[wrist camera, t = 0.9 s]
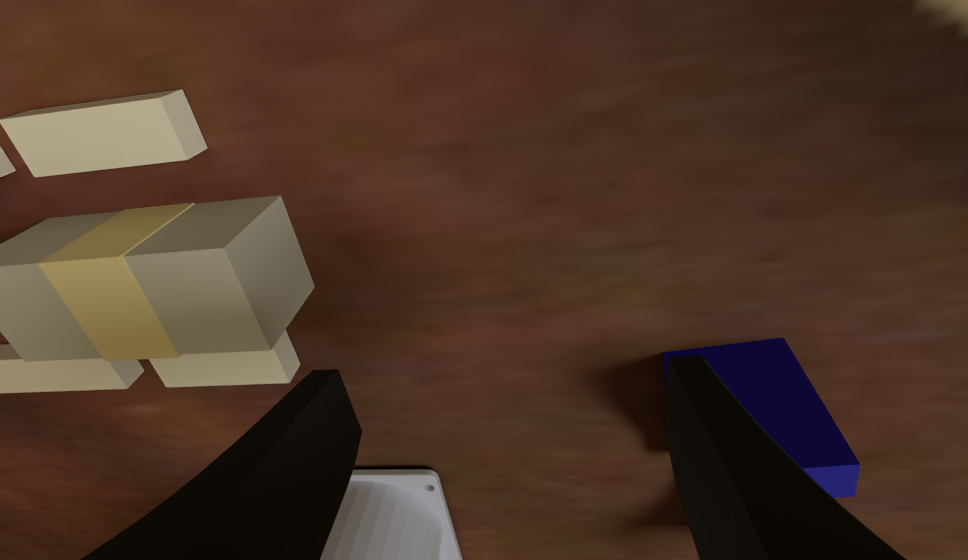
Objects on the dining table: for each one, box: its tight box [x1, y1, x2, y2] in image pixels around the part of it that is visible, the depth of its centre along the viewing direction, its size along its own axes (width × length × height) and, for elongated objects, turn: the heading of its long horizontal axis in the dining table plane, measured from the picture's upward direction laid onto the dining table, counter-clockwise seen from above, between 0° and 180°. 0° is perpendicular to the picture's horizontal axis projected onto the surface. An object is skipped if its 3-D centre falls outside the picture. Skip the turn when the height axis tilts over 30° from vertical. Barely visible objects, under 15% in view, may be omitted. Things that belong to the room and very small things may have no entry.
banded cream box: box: [0, 195, 315, 362], centre depth 19 cm, size 4×10×4 cm, turn 98°
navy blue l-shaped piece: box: [663, 338, 860, 497], centre depth 21 cm, size 12×4×6 cm, turn 15°
